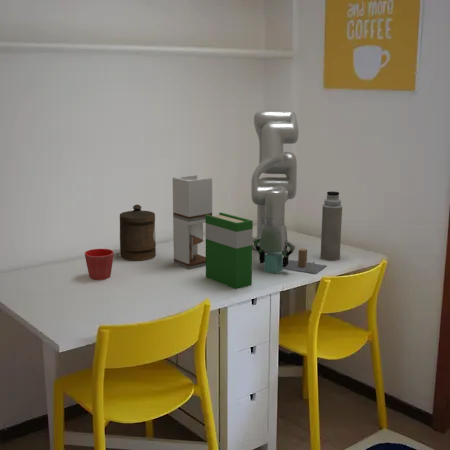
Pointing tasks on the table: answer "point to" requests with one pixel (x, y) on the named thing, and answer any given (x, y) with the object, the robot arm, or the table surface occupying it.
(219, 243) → the hardback book
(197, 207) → the white coffee maker
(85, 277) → the table surface
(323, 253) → the thermos bottle
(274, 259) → the teal rectangular block
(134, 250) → the wooden container
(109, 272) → the flower pot
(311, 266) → the post stand
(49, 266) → the table surface
